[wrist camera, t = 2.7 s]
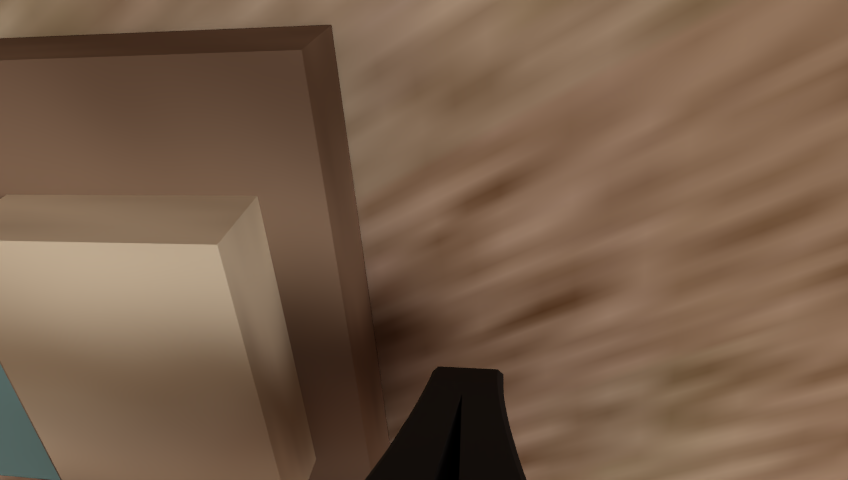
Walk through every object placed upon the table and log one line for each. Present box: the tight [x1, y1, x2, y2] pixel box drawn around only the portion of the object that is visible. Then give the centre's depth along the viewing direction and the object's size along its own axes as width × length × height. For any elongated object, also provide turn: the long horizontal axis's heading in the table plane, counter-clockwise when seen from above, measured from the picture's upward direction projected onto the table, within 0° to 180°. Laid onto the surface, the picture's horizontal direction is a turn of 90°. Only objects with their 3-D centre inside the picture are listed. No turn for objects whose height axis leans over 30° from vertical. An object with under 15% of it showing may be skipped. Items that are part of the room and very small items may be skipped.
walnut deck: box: [0, 25, 390, 480], centre depth 17 cm, size 14×10×2 cm
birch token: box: [0, 195, 316, 480], centre depth 15 cm, size 8×6×2 cm
